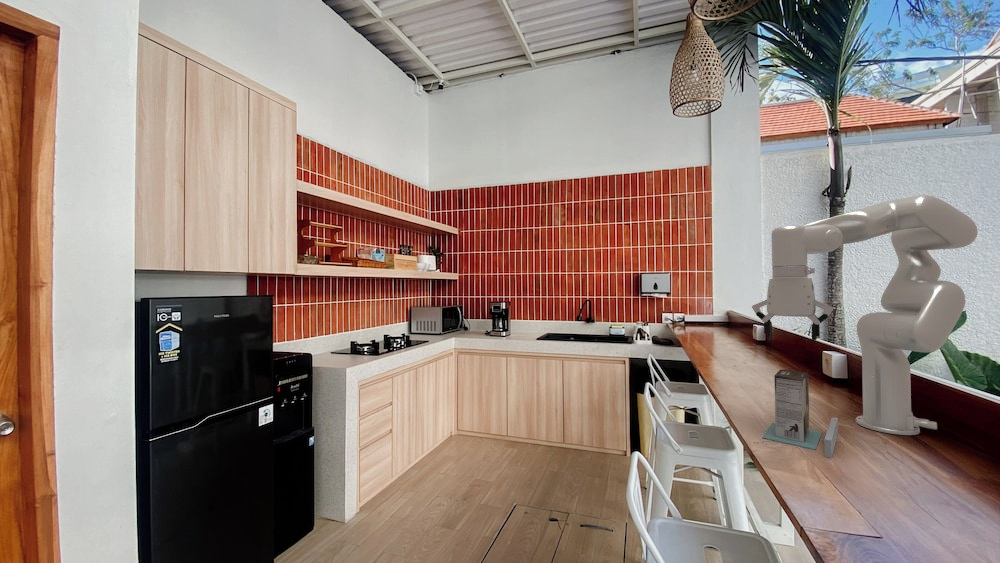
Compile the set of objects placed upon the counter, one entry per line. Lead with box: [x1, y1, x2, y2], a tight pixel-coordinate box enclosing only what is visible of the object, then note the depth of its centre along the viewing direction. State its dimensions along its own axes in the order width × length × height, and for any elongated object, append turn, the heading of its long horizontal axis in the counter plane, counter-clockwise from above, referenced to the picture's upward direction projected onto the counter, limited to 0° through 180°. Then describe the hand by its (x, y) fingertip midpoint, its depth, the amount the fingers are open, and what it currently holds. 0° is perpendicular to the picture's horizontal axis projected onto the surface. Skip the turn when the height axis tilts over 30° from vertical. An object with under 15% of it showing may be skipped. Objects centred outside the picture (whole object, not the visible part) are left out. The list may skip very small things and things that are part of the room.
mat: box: [761, 422, 823, 451], centre depth 104 cm, size 11×14×1 cm
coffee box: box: [774, 369, 811, 442], centre depth 104 cm, size 9×6×16 cm
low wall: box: [824, 417, 839, 459], centre depth 99 cm, size 1×20×4 cm, turn 136°
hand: (791, 338), depth 104 cm, fingers open, 9 cm apart
